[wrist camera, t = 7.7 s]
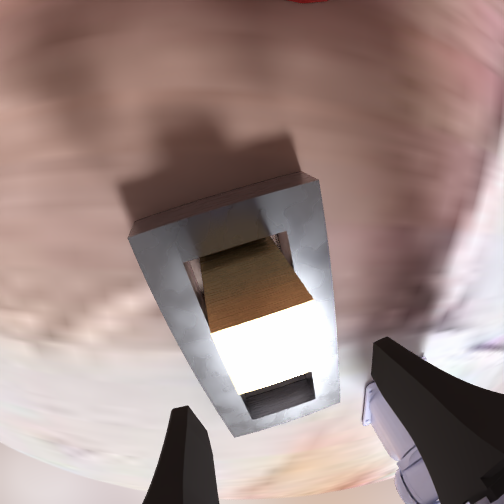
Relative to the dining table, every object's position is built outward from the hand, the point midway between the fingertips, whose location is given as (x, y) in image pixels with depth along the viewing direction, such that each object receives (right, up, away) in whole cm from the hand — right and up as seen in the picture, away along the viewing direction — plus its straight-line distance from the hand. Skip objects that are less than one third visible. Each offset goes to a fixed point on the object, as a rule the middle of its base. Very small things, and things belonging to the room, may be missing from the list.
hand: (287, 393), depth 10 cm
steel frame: (-1, 0, +11) cm, 11 cm away
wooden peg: (-2, +4, +9) cm, 10 cm away
